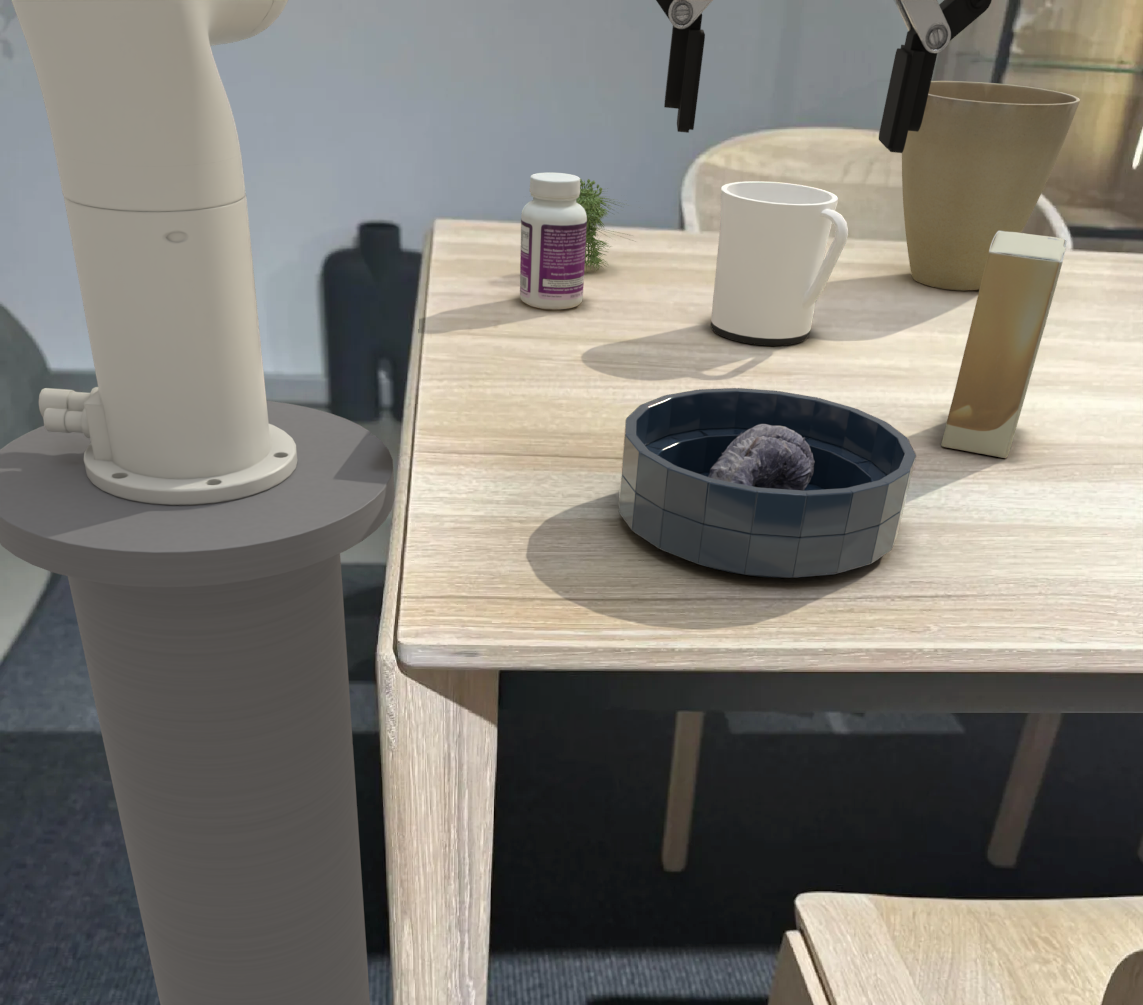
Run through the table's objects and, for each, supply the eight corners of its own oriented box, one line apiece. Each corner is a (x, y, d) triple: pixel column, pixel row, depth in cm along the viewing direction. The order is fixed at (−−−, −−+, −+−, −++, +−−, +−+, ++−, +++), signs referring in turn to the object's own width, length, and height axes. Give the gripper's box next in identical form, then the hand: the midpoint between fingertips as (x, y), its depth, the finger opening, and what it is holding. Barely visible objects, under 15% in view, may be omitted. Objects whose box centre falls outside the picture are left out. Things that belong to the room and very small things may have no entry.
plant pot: (920, 254, 122) (958, 76, 113) (1056, 286, 114) (1109, 97, 104) (839, 275, 113) (873, 83, 104) (980, 312, 105) (1030, 107, 96)
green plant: (493, 257, 111) (495, 169, 107) (604, 249, 116) (610, 165, 112) (553, 290, 103) (557, 196, 99) (670, 280, 108) (678, 190, 104)
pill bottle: (592, 300, 101) (600, 175, 95) (566, 314, 97) (572, 185, 91) (536, 290, 103) (540, 167, 97) (507, 304, 99) (510, 176, 93)
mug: (682, 326, 96) (697, 188, 90) (749, 309, 101) (767, 177, 95) (791, 362, 90) (815, 215, 84) (857, 341, 95) (884, 202, 89)
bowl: (615, 576, 60) (623, 482, 57) (620, 462, 72) (627, 379, 69) (918, 598, 59) (941, 504, 57) (870, 479, 72) (888, 398, 69)
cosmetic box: (950, 418, 82) (996, 227, 74) (1015, 429, 80) (1069, 237, 73) (938, 449, 77) (987, 247, 70) (1007, 461, 76) (1064, 258, 68)
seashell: (756, 575, 62) (760, 504, 70) (835, 506, 59) (830, 441, 67) (683, 507, 60) (696, 442, 69) (760, 432, 58) (764, 375, 66)
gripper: (643, -405, 42) (599, 133, 52) (1127, -358, 42) (990, 170, 52) (644, -367, 48) (605, 109, 58) (1068, -326, 48) (955, 142, 58)
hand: (787, 137), depth 55 cm, fingers open, 9 cm apart
